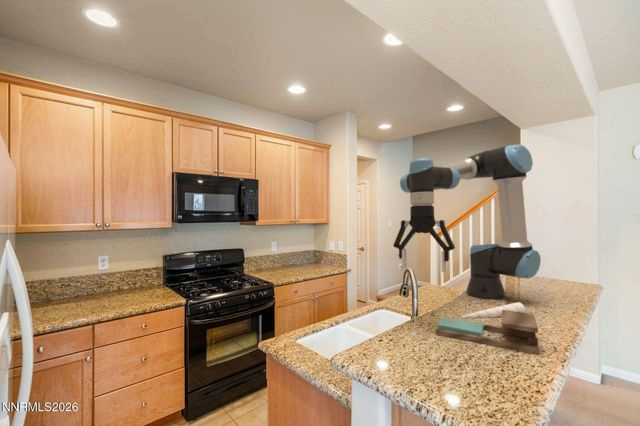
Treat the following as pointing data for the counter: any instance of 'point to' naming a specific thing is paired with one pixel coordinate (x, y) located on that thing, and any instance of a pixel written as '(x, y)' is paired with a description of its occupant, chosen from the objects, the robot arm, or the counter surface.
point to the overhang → (505, 332)
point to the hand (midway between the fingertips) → (423, 269)
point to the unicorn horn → (497, 311)
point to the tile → (461, 326)
